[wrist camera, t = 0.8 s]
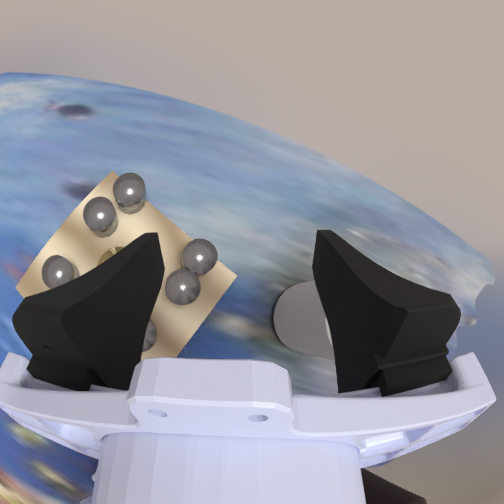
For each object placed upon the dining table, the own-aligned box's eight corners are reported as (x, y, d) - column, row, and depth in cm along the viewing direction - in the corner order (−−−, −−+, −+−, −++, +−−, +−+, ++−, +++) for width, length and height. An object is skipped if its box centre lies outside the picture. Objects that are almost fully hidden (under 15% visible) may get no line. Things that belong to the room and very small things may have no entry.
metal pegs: (143, 365, 23) (141, 372, 20) (44, 274, 21) (32, 270, 18) (224, 259, 27) (232, 253, 25) (128, 178, 26) (125, 164, 23)
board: (141, 402, 22) (140, 404, 22) (17, 288, 20) (15, 287, 20) (235, 276, 28) (237, 275, 27) (112, 173, 26) (112, 170, 25)
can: (260, 296, 28) (325, 285, 17) (318, 274, 31) (395, 253, 20) (283, 362, 28) (355, 385, 17) (337, 334, 30) (417, 337, 19)
